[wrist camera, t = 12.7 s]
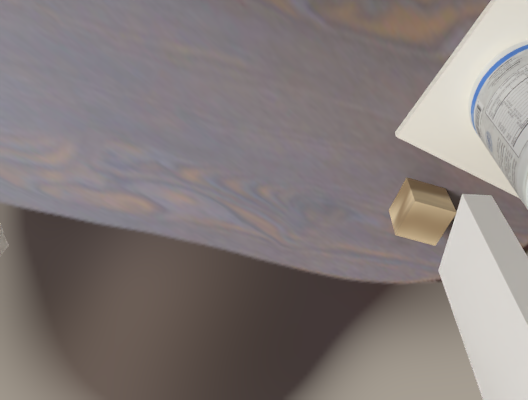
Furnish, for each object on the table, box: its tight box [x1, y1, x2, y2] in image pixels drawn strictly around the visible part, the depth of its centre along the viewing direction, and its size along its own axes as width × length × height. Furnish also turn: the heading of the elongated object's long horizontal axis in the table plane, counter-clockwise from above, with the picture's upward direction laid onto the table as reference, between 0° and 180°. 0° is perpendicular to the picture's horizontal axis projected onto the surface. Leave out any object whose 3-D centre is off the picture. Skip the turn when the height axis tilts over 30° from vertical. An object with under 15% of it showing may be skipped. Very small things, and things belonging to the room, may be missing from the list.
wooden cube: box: [389, 178, 456, 246], centre depth 45 cm, size 4×4×4 cm
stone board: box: [395, 0, 528, 198], centre depth 40 cm, size 16×14×1 cm
